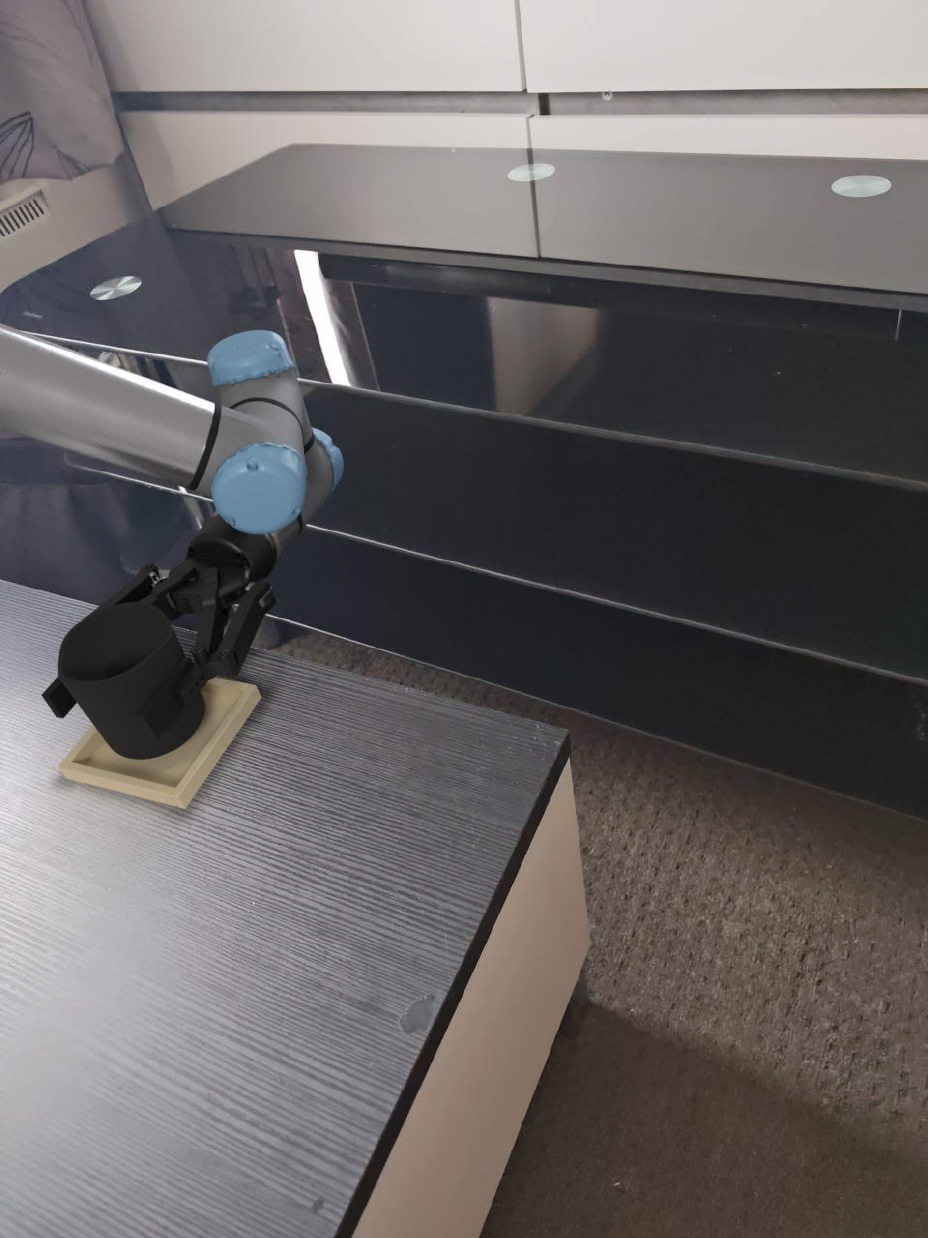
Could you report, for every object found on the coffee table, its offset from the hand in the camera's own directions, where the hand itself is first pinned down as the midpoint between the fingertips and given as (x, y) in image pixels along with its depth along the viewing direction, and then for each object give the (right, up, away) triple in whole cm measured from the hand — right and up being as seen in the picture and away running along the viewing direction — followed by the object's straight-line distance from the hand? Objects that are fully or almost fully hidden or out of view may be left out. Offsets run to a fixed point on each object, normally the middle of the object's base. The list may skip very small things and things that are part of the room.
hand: (98, 716), depth 73 cm
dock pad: (+3, -3, +8) cm, 9 cm away
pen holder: (+3, -1, +7) cm, 8 cm away
